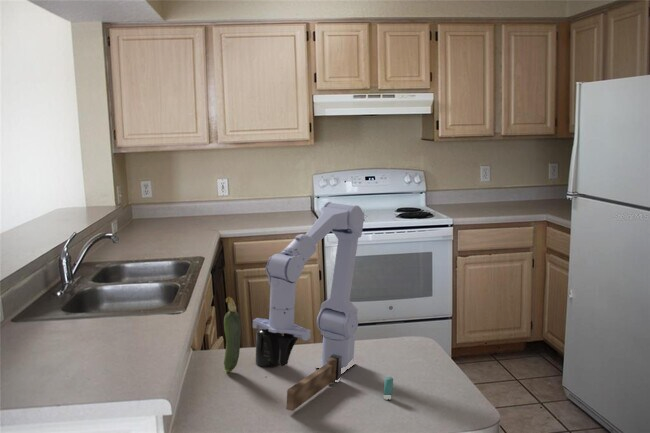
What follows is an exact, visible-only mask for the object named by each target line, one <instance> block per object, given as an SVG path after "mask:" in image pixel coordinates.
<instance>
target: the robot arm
mask: <svg viewBox="0 0 650 433" xmlns="http://www.w3.org/2000/svg"><path fill="white" fill-rule="evenodd" d="M318 216H319V217H318V218H317V219H316V221H315V222H314V223H313V225H312V226H311V227H310V228H309V229H308V231H307V232H306V233H305V234H304V233H302V234H301V233H300V234H297V235H295V237H294V238H293V240H292V241H291V242H290V243H288V245H287V246H285V248H284V249H282V251H281V252H280V253H279V252H278V253H275V254H273V255H271V256H270V257H269V258H268V260H267V263H266V266H265V272H266V275H267V277H268V285H269V286H270V290H269V291H270V293H269V314H268V315H269V317H268V318H269V320H268V319H263V318H260V317H256V318H254V319H253V320H252V328H253V329H260V328H261V329H265V330H266V332H265V333H264V334H263V339H264V340H265V342H266V344H267V346H268V349H269V353H270V357H271V362H272V363H273V364H274V363H276V362H278V361H279V356H280V364H279V366H282V367H284V366H286V365H288V363H289V359H290V357H291V353H292V350H293V348H294V346H295V344H296V342H297V340H298V339H301V340H302V341H306V342H307V341H308V340H310V339H311V332H312V330H311V329H307V328H304V327H302V326H300V325H298V324H295V309H296V308H295V306H296V305H295V304H296V288H297V286H296V284H297V280H299V279H300V278H301V275H302V272H303V269H304V268H305V264H306V263H307V262H308V261H309V260H310V259H311V257H313V255H315V253H316V252H317V244H318V243H319V242H320V241H322V239H324V238H325V237H326V236H327V235H328V234H329V233H333V234H334V236H335V237H336V239H337V245H336V246H337V247H336V254H335V259H334V268H333V273H332V274H333V275H332V281H331V288H330V294H329V298H328V299H326V300H325V301H323V302H322V303H321V304H320V305H321V306H320V310H319V313H318V315H317V318H316V326H317V328H318V330H320V335H322V345H321V346H322V347H321V362H320V363H321V364H322V366H324V365H325V364H327V359H328V358H330V356H331V355H333V354H335V355H339V356H342V362H341V368H343V367H346V366H347V365H348V363H349V362H350V361H351V360H352V359H353V358H354V357H355V356H354V354H355V337H354V336H355V334H356V332H357V330H358V327H359V320H358V308H357V307H356V306H355V305H354V304H353V303H352V302H351V300H350V299H351V292H352V284H353V279H354V271H355V270H354V269H355V264H356V258H357V256H356V255H357V250H358V243H359V242H358V241H359V238H361V237H362V234H363V230H364V228H363V227H364V222H365V214H364V211H363V210H362V208H361V207H360V206H359V205H351V204H343V203H335V202H331V201H327V202H325V203H324V204H323V206H322V207H321V208H319V215H318ZM353 360H354V359H353Z"/></svg>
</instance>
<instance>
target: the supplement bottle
mask: <svg viewBox="0 0 650 433" xmlns="http://www.w3.org/2000/svg"><path fill="white" fill-rule="evenodd" d="M262 319H268V320H269V317H264V318H262ZM265 332H266V330H265V329H261V328H258V329H257V331H256V334H255V335H256V336H255V338H256V340H255V359H254V360H255V363H256V365H257V366H259V367H261V368H265V369H266V368H270V369H271V368H275V367H278V366H280V356H279V361H278V362H276V363H274V364H273V363H272V362H271V357H270V353H269V349H268V346H267V344H266V342H265V340H264V339H263V334H264V333H265Z"/></svg>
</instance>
